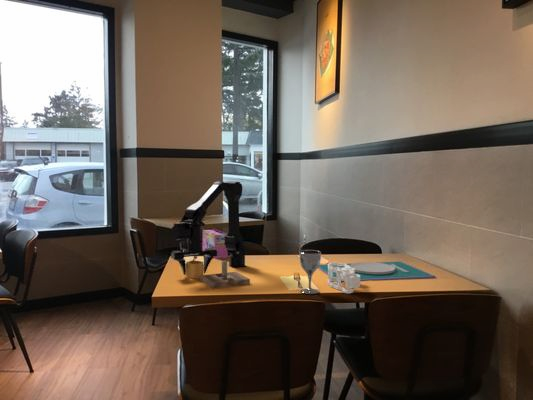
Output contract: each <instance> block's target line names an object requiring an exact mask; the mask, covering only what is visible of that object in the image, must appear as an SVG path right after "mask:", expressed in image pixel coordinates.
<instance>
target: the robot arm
mask: <svg viewBox="0 0 533 400" xmlns="http://www.w3.org/2000/svg"><path fill="white" fill-rule="evenodd" d="M222 192H223V193H224V197H225V199H226V201H227V211H228V212H227V216H228V217H227V218H228V221H227V222H228V233H227V236H224V240H225V243H224V245H225V247H226V248H227V252H228V254H229V256H228V266H229V267H231V268H232V269H239V268H247V265H246V255H247V254H248V252H249V248H248V247H247V246H246V244H245V243H244V242H245V241H244V238H243V236H242V233H241V232H240V205H239V204H240V199H241V197H242V196H243V184H242V183H241V182H240V181H234V180H233V181H232V180H228V181H215V182H213V183H212V185H211V187H210V188H209V189H208V190H207V191H206V192H204V194H203V195H202V197H200V199H199V200H198V201H197V202H195V203H193V204H191V205H189V206H188V207H187V208H186V209H185V211H184V214H183V216H182V217H181V220H180V221H179V223H178V222H176V223H175V222H174V223H173V226H172V227H171V229H170V236H171V238H172V240H174V241H179V249H180V250H172V251H171V253H170V258H171V259H172V260H174V261H177V262H178V264H179V266H180V268H181V270H182V274H183V276H186V259H185V257H186V258H187V257H197V256H198V257H199V256H203V274H206V273H207V270H208V267H209V266H210V263H211V261H212V260H213V259H214V257H215V256H217V250H216V249H214V248H205V250H204V251H203V249H202V244H203V239H202V227H205V226H206V224H205V223H204V222H203V220H204V217H205V216H206V215H207V211H208V209H209V208H210V206H211V205H212V204H213V203H214V201H215V200H216V199H217V198H218V196H220V195H221V193H222ZM180 240H186V242H185V241H180ZM182 250H183V251H182Z"/></svg>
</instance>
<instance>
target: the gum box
mask: <svg viewBox="0 0 533 400" xmlns="http://www.w3.org/2000/svg"><path fill="white" fill-rule="evenodd" d="M227 234H228V233H226V232H224V231H222V230H219V229H216V228H212V229H204V228H202V251H204V250H205V248H214V249H216V250H217V256H215V257H214V259H215V260H217V259H229V253H228V252H227V248H226V247H225V245H224V243H225V240H224V236H227Z"/></svg>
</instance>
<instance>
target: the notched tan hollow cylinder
mask: <svg viewBox="0 0 533 400" xmlns="http://www.w3.org/2000/svg"><path fill="white" fill-rule="evenodd" d="M185 265H186V274H185V277H186V278H189V279H200V276H201V275H204V271H203V268H204V261H200V260H190V261H185Z"/></svg>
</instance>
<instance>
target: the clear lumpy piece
mask: <svg viewBox="0 0 533 400" xmlns="http://www.w3.org/2000/svg"><path fill="white" fill-rule="evenodd" d="M327 264H328V275H327V284H328V285H329V287H331V288H334V289H335V290H336V289H337V290H338V291H339V290H340V291H341V292H342V291H343V292H344V294H353V293H354V291H355V288H356V289H357V288H360V287H361V281H360V275H358V274H355V269H354V268H351V267H350V266H349V265H347V264H348V263H345V262H333V261H332V262H329V263H327ZM333 265H334V266H344V267H343V268H341V270H340V269H339V267H333ZM330 266H331V267H330ZM333 272H336V273H337V278H335V277H333ZM336 280H337V282H336ZM333 281H334V282H333ZM341 281H344V286H345V287H346V288H345V287H344V286H342V285H341V283H342V282H341Z"/></svg>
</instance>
